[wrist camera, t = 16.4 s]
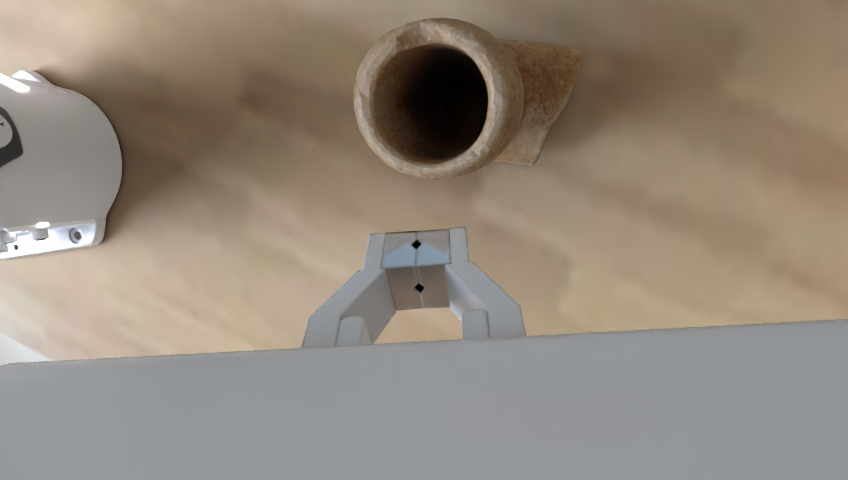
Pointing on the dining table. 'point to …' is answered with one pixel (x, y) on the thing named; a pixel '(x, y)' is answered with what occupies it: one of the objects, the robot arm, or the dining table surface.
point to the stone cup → (459, 97)
